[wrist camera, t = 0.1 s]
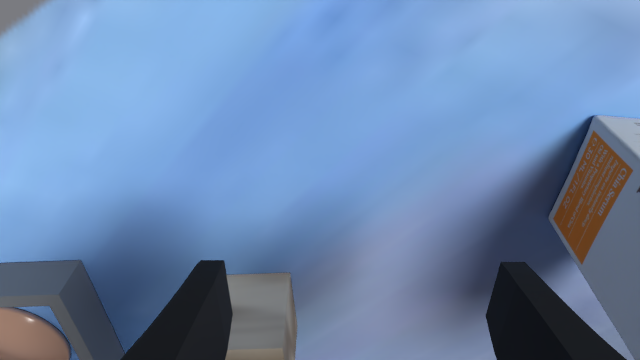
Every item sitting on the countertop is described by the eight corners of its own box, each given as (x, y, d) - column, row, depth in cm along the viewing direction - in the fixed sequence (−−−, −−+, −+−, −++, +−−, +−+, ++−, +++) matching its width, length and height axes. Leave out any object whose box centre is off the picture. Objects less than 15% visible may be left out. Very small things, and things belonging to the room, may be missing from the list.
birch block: (297, 324, 28) (291, 402, 24) (224, 326, 29) (207, 404, 24) (290, 271, 26) (282, 348, 22) (210, 274, 26) (188, 350, 22)
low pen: (147, 400, 33) (134, 436, 31) (-36, 404, 34) (-60, 439, 31) (80, 260, 25) (58, 294, 23) (-153, 268, 26) (-195, 302, 24)
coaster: (86, 374, 31) (83, 379, 31) (-13, 376, 32) (-17, 381, 31) (46, 303, 27) (42, 308, 27) (-67, 306, 28) (-72, 312, 27)
